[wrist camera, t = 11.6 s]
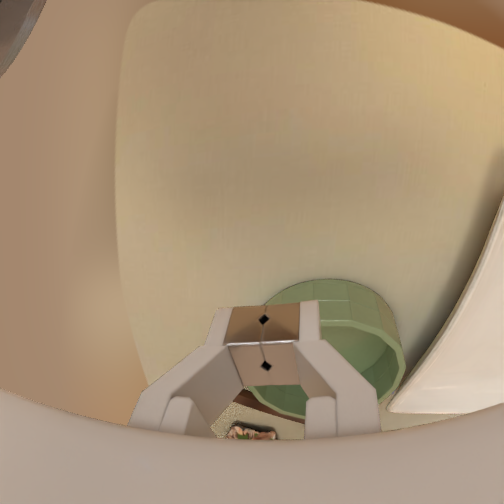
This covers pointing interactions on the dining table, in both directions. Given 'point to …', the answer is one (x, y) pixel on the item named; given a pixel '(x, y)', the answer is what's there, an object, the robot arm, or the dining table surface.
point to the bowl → (344, 339)
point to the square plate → (465, 345)
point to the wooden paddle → (261, 405)
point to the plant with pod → (249, 434)
